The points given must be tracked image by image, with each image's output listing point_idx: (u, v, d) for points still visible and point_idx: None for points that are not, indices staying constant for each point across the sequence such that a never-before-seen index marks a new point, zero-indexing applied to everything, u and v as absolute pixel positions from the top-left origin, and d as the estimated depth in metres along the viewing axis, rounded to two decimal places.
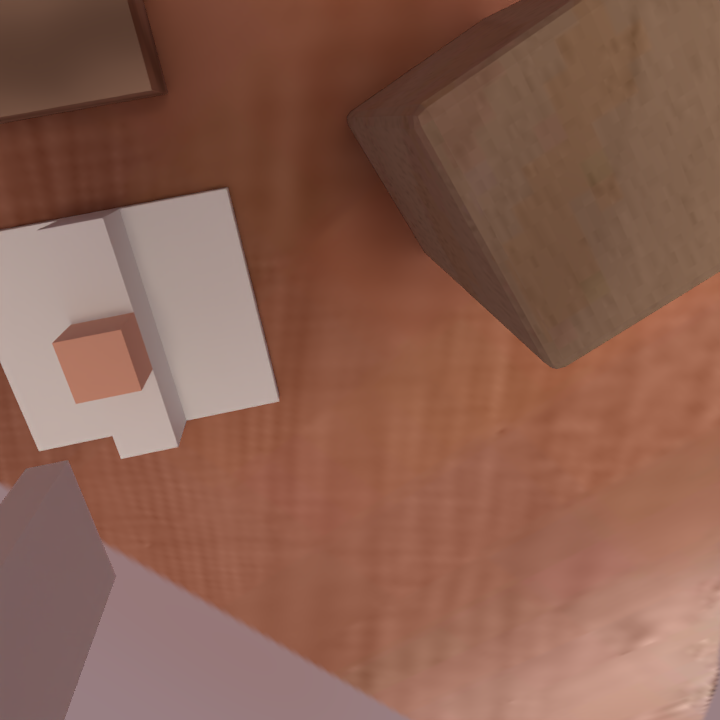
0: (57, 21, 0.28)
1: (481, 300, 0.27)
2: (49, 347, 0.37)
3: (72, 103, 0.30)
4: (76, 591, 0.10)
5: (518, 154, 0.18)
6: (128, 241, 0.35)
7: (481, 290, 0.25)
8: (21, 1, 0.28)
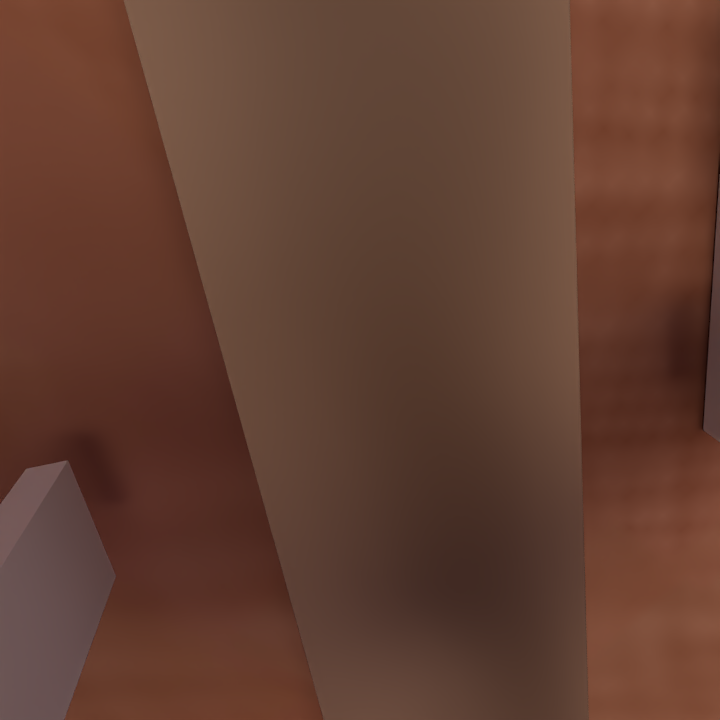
0: None
1: None
2: None
3: None
4: (76, 591, 0.10)
5: None
6: None
7: None
8: (199, 114, 0.07)
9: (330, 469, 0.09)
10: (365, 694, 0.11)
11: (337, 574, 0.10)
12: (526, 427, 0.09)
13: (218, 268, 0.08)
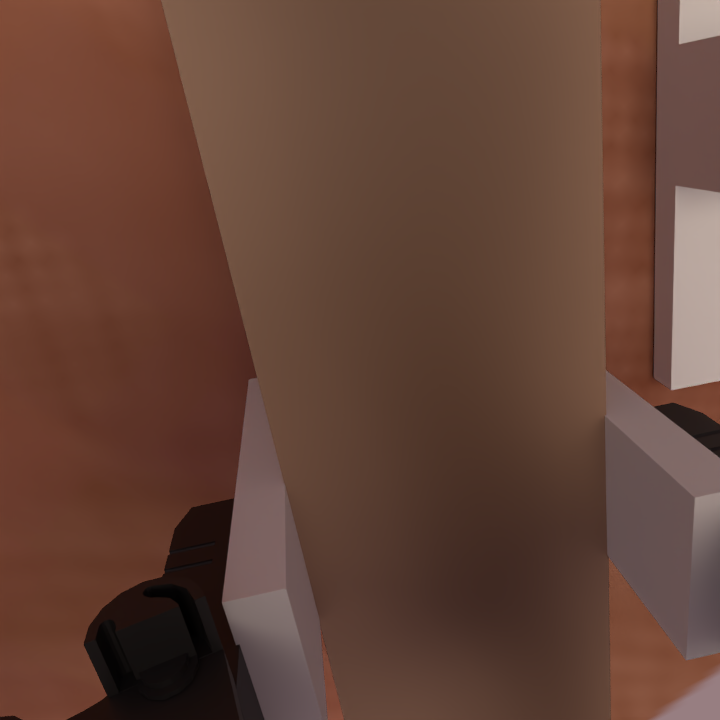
0: None
1: None
2: None
3: None
4: None
5: None
6: None
7: None
8: (236, 131, 0.07)
9: (357, 480, 0.09)
10: (387, 703, 0.11)
11: (363, 583, 0.10)
12: (552, 438, 0.09)
13: (252, 281, 0.08)
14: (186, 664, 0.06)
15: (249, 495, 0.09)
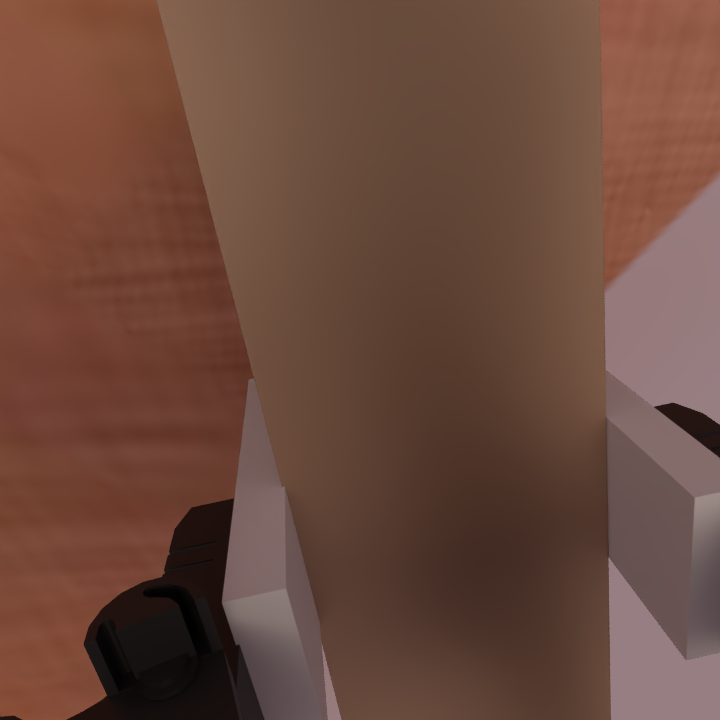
0: None
1: None
2: None
3: (594, 3, 0.07)
4: None
5: None
6: None
7: None
8: (234, 138, 0.07)
9: (356, 486, 0.09)
10: (387, 710, 0.11)
11: (361, 590, 0.10)
12: (551, 445, 0.09)
13: (250, 288, 0.08)
14: (186, 664, 0.06)
15: (249, 495, 0.09)
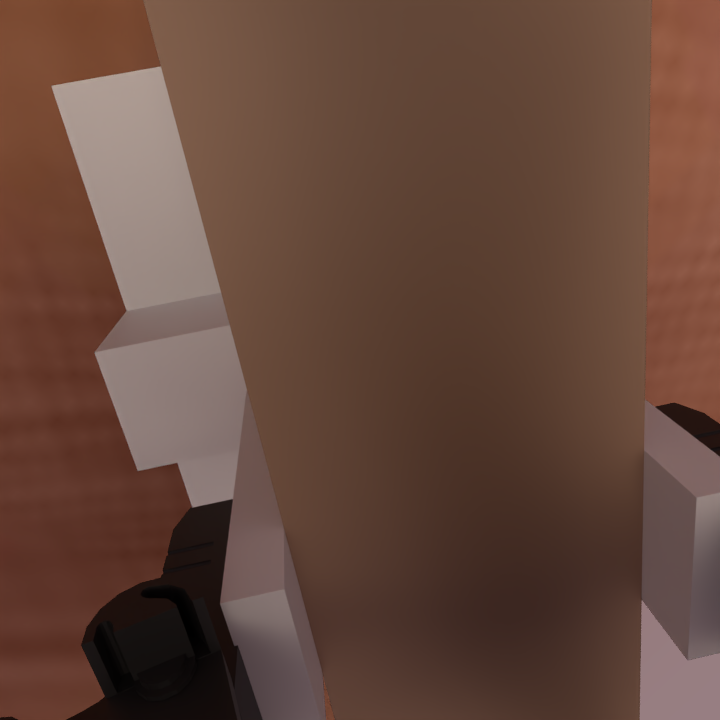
0: None
1: None
2: None
3: None
4: None
5: None
6: (187, 300, 0.18)
7: None
8: (229, 140, 0.06)
9: (366, 526, 0.08)
10: None
11: (371, 636, 0.09)
12: (583, 479, 0.08)
13: (248, 310, 0.07)
14: (184, 665, 0.06)
15: (248, 496, 0.09)
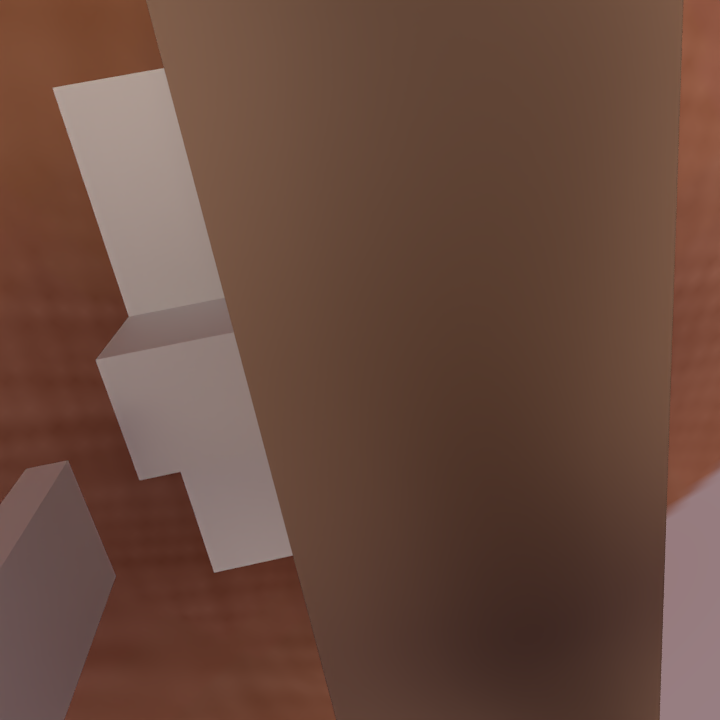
0: None
1: None
2: None
3: None
4: (76, 591, 0.10)
5: None
6: (191, 305, 0.18)
7: None
8: (236, 145, 0.06)
9: (377, 547, 0.08)
10: None
11: (381, 661, 0.09)
12: (604, 498, 0.08)
13: (255, 324, 0.07)
14: None
15: None
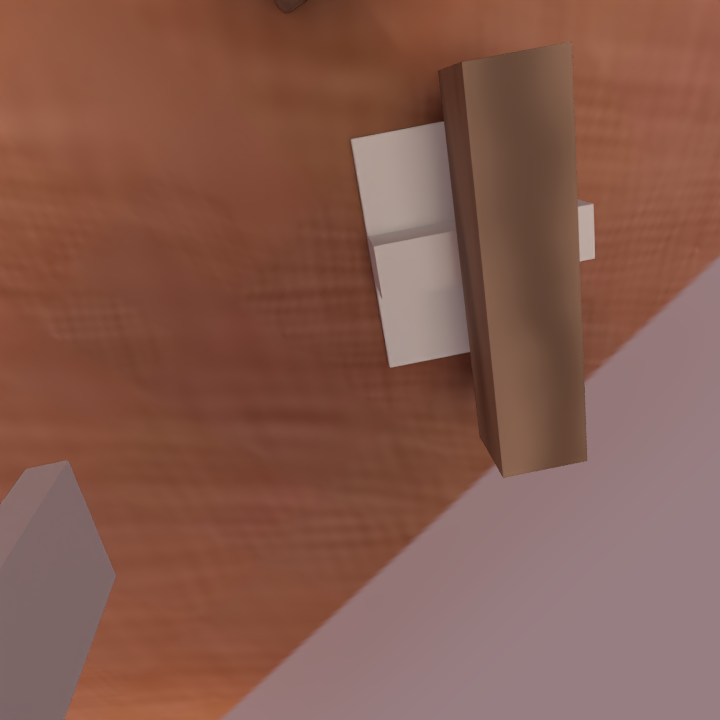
0: (501, 134, 0.28)
1: None
2: None
3: (573, 133, 0.29)
4: (76, 591, 0.10)
5: None
6: (395, 231, 0.41)
7: None
8: (482, 167, 0.29)
9: (503, 269, 0.31)
10: (506, 356, 0.32)
11: (502, 306, 0.31)
12: (562, 258, 0.31)
13: (481, 206, 0.29)
14: None
15: None
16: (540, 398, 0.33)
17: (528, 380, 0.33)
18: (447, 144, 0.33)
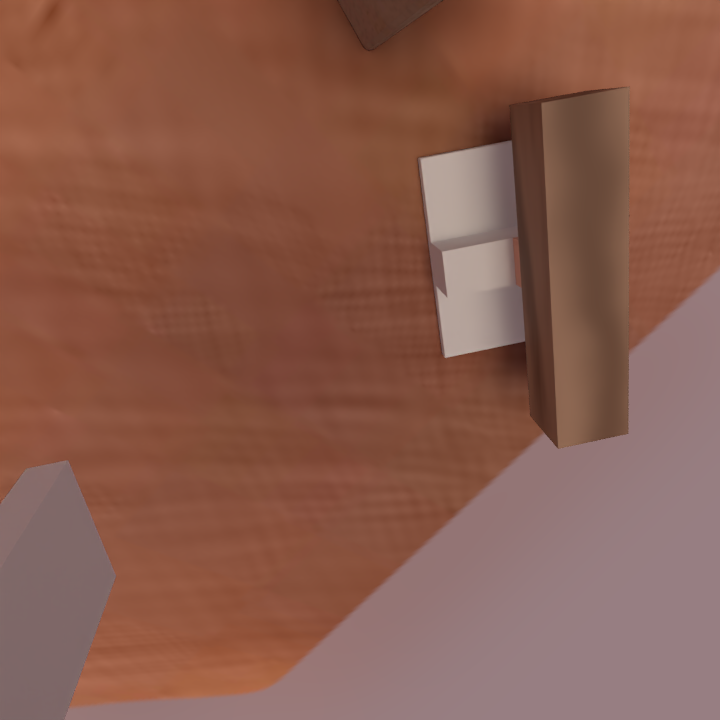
0: (570, 161, 0.34)
1: None
2: None
3: (627, 160, 0.35)
4: (76, 591, 0.10)
5: None
6: (455, 238, 0.47)
7: None
8: (553, 188, 0.35)
9: (566, 271, 0.37)
10: (565, 344, 0.39)
11: (564, 303, 0.37)
12: (615, 262, 0.37)
13: (551, 220, 0.35)
14: None
15: None
16: (592, 380, 0.40)
17: (582, 364, 0.39)
18: (514, 166, 0.39)
